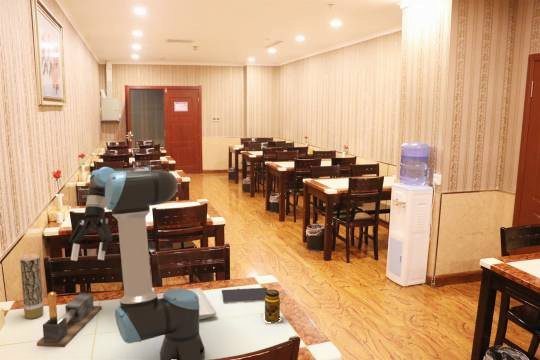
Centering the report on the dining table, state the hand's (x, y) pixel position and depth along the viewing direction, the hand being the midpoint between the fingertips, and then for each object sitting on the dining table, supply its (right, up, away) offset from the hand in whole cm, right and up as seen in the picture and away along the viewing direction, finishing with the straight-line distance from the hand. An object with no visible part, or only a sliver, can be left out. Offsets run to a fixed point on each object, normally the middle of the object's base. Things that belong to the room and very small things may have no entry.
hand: (87, 260), depth 174 cm
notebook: (+61, -22, +27) cm, 70 cm away
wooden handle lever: (-5, -23, -8) cm, 24 cm away
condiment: (+73, -25, +6) cm, 77 cm away
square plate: (+33, -24, +12) cm, 42 cm away
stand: (-5, -25, -1) cm, 25 cm away
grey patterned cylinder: (-24, -24, +6) cm, 34 cm away
